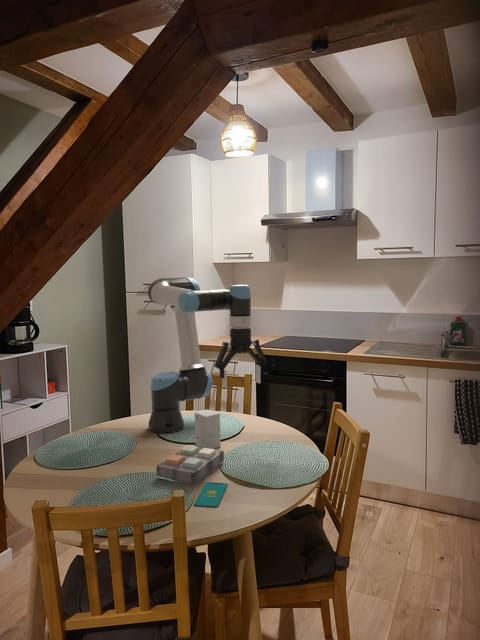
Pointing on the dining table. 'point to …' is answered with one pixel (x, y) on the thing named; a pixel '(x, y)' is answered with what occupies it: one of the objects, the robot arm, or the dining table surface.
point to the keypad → (190, 469)
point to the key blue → (192, 463)
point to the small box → (207, 429)
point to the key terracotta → (175, 460)
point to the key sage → (190, 450)
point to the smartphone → (211, 494)
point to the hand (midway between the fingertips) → (241, 384)
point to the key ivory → (206, 453)
